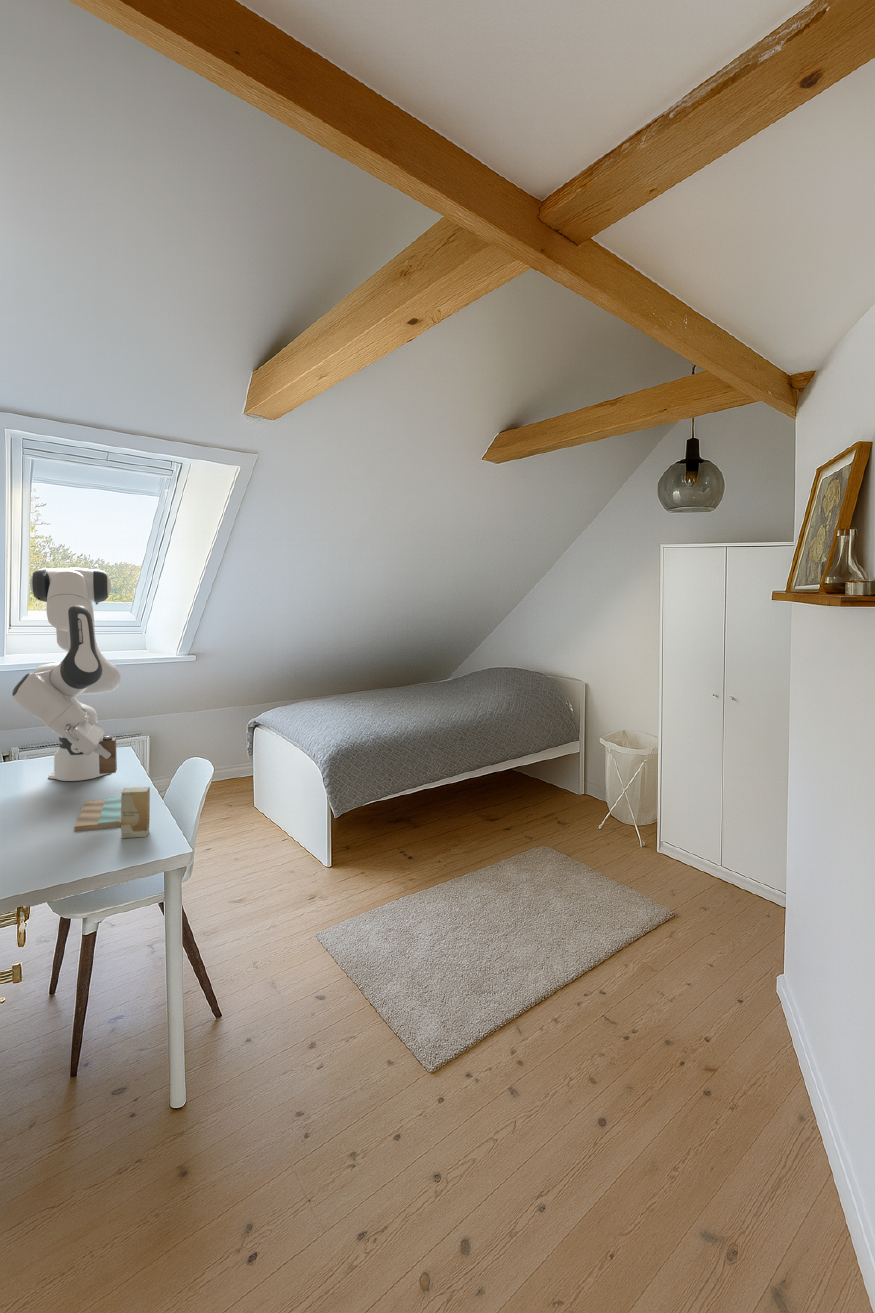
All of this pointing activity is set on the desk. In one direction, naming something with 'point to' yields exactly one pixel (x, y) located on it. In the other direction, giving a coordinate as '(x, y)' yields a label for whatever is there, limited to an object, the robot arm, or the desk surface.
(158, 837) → the desk surface
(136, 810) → the skincare box
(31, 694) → the robot arm
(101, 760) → the walnut post
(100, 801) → the tan flat board
